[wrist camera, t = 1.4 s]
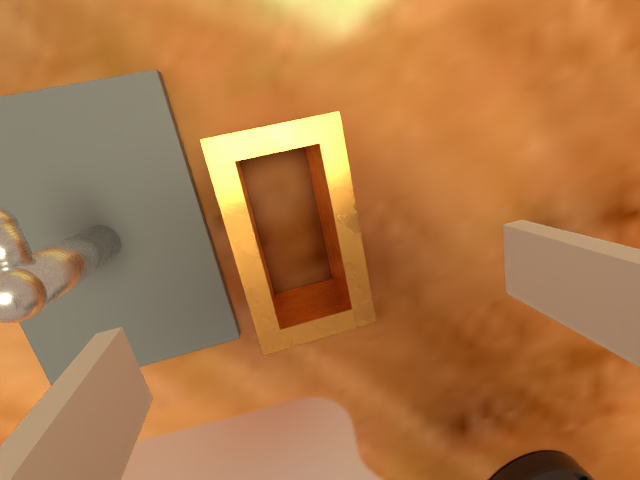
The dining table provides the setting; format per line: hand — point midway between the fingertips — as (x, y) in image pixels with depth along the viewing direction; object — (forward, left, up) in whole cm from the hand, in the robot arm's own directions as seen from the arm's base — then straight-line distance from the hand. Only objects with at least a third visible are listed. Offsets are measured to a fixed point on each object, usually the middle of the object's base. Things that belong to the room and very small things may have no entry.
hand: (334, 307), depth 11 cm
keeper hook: (+3, +13, -15) cm, 20 cm away
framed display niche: (0, 0, -16) cm, 16 cm away
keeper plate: (+2, +13, -16) cm, 21 cm away
